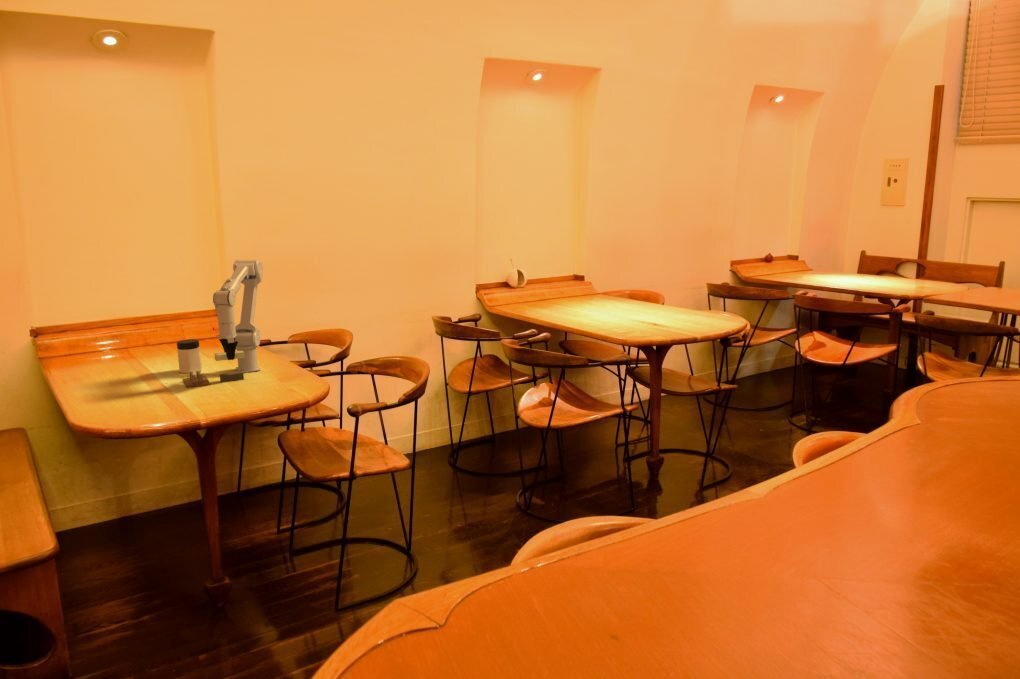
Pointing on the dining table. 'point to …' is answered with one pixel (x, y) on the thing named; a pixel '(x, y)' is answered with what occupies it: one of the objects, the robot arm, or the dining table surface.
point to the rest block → (231, 376)
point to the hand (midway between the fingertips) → (230, 358)
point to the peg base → (196, 380)
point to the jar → (189, 355)
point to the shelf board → (224, 357)
